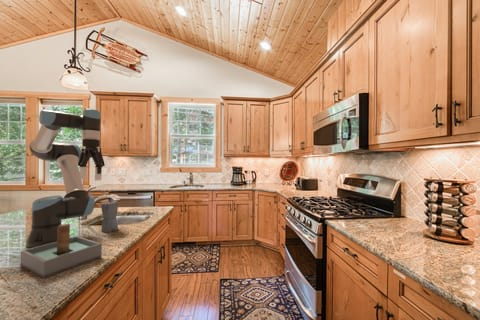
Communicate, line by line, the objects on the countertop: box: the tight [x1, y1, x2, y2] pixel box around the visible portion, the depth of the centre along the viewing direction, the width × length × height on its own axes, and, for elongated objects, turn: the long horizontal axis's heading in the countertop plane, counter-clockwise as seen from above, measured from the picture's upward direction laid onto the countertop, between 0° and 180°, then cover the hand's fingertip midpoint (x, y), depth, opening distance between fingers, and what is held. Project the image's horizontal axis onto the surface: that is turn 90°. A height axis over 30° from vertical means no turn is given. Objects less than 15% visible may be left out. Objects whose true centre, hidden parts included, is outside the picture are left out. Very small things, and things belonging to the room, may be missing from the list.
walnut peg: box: [57, 223, 71, 256], centre depth 90 cm, size 4×4×14 cm
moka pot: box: [100, 197, 119, 233], centre depth 133 cm, size 10×15×20 cm, turn 24°
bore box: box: [19, 235, 103, 279], centre depth 90 cm, size 20×20×6 cm
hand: (90, 179), depth 112 cm, fingers open, 13 cm apart
